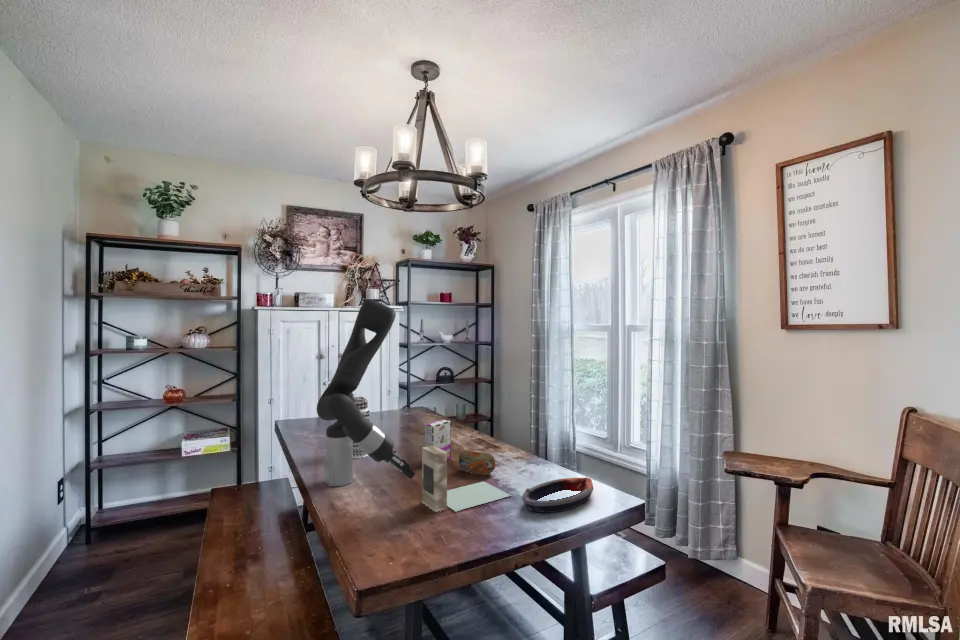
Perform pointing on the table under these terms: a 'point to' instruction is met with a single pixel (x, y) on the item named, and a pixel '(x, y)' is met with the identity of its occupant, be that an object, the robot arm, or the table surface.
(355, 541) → the table surface
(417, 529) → the table surface
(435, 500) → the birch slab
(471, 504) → the rubber mat
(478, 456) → the tin
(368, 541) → the table surface
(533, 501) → the dark oval ring
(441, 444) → the candy bar box
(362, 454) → the decorative candle
